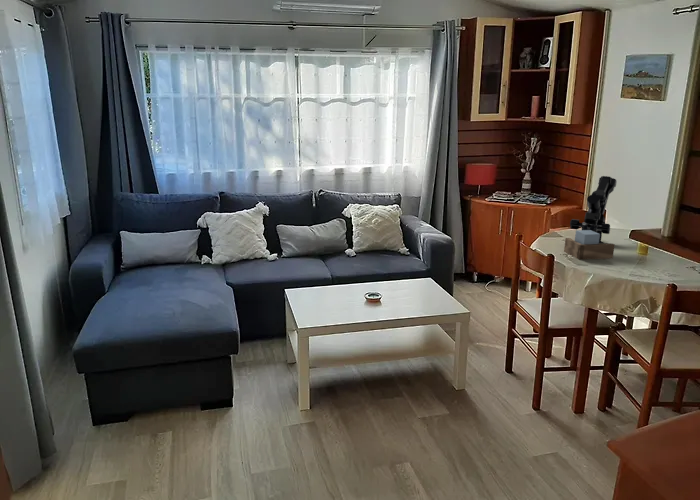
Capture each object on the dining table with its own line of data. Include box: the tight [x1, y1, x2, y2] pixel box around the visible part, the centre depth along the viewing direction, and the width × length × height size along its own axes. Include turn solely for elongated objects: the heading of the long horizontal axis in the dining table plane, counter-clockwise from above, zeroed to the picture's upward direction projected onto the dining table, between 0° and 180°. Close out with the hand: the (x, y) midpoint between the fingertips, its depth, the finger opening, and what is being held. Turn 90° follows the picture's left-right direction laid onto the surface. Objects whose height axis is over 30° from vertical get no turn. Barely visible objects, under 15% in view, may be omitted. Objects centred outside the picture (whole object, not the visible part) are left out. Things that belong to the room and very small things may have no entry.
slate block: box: [574, 229, 600, 244], centre depth 278 cm, size 8×8×12 cm
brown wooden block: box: [563, 237, 615, 260], centre depth 280 cm, size 14×18×7 cm
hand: (586, 240), depth 282 cm, fingers closed
